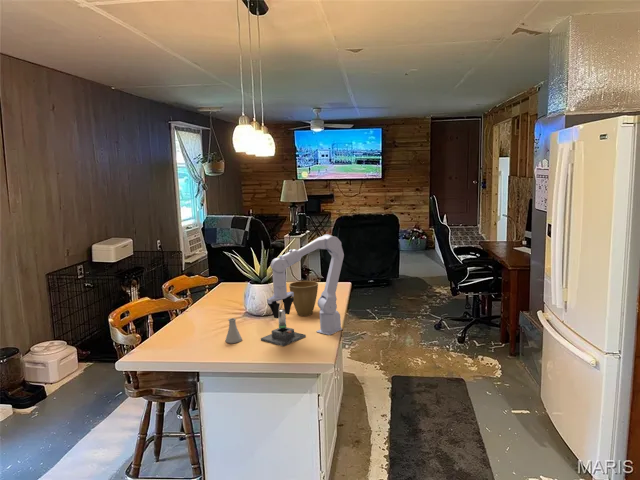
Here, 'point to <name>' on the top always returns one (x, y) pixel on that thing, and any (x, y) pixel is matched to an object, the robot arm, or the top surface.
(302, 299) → the plant pot
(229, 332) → the flask
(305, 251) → the robot arm
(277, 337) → the charcoal stand
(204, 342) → the top surface
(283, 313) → the steel column
